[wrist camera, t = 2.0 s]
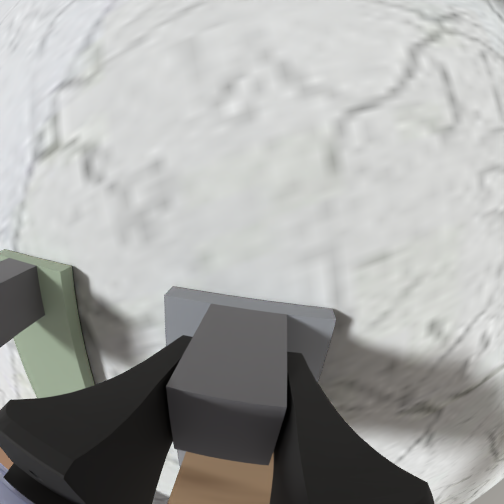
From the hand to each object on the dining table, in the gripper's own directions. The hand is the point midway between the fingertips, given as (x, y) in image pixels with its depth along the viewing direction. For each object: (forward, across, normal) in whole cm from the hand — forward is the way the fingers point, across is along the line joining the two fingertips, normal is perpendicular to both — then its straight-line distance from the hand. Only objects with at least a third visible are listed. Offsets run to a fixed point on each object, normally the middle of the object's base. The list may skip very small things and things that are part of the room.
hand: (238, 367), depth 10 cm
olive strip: (+3, +13, +8) cm, 15 cm away
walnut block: (+2, 0, +10) cm, 11 cm away
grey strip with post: (+3, 0, +8) cm, 8 cm away
